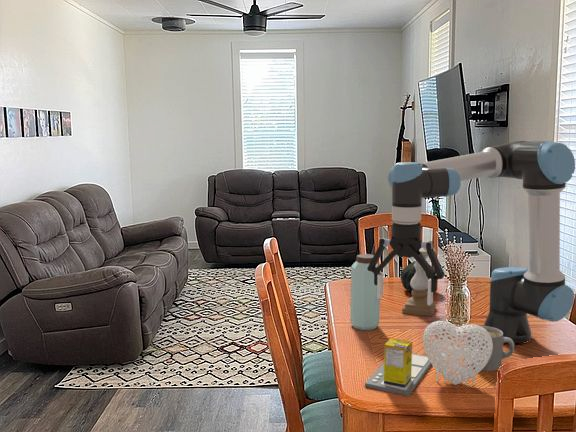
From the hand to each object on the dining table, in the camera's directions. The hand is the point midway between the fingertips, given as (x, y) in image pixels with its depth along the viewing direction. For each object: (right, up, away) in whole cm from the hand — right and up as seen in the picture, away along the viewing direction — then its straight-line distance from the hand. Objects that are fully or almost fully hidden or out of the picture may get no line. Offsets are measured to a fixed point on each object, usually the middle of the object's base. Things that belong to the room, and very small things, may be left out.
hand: (404, 300), depth 156 cm
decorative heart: (+14, -23, +2) cm, 27 cm away
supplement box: (-2, -22, +1) cm, 22 cm away
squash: (+24, -10, +90) cm, 94 cm away
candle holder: (+18, -13, +65) cm, 69 cm away
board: (+1, -22, +9) cm, 24 cm away
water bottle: (-4, -16, +48) cm, 51 cm away
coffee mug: (+28, -21, +15) cm, 38 cm away
